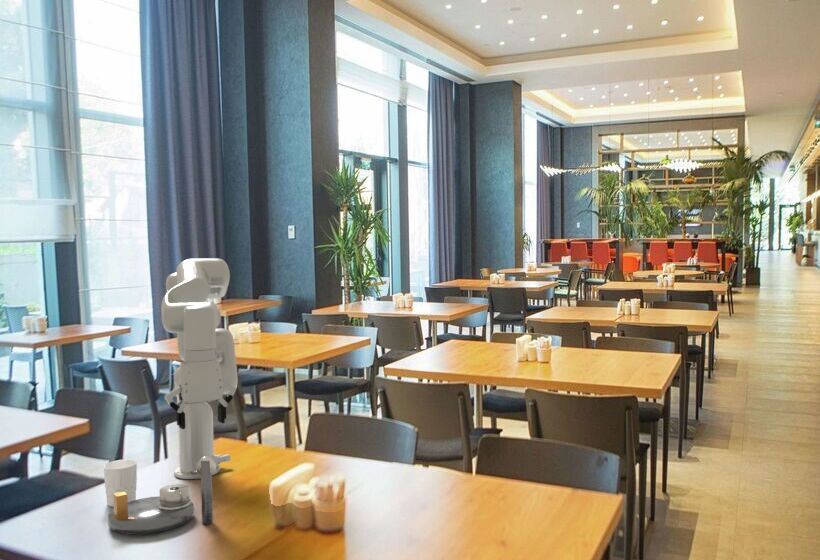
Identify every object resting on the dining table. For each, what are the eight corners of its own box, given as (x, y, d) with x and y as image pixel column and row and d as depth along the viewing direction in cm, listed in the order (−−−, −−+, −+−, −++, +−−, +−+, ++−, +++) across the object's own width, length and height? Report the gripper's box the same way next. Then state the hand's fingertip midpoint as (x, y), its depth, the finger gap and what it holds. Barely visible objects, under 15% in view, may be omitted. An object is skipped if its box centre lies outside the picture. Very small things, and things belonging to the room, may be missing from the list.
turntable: (177, 497, 182) (177, 469, 182) (206, 520, 167) (205, 489, 167) (99, 515, 171) (98, 485, 171) (121, 541, 156) (120, 508, 155)
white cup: (126, 509, 178) (125, 469, 177) (98, 507, 179) (96, 468, 179) (144, 498, 185) (143, 460, 185) (116, 496, 187) (115, 458, 186)
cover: (184, 497, 178) (184, 481, 177) (196, 505, 172) (195, 489, 171) (153, 504, 173) (153, 487, 173) (164, 513, 167) (163, 496, 167)
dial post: (218, 521, 169) (216, 455, 168) (214, 525, 167) (213, 458, 166) (194, 520, 170) (192, 455, 169) (190, 524, 167) (188, 458, 166)
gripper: (229, 350, 183) (231, 417, 184) (160, 357, 173) (162, 427, 174) (239, 354, 176) (241, 423, 177) (167, 361, 167) (170, 433, 168)
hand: (202, 425), depth 176 cm, fingers open, 9 cm apart
